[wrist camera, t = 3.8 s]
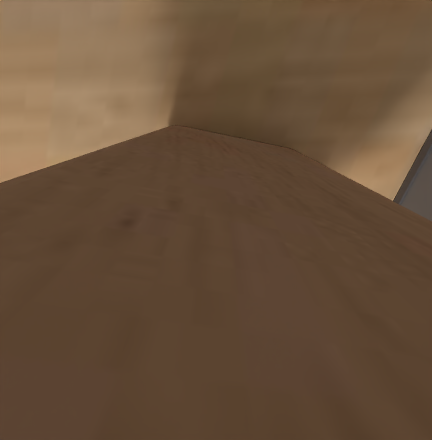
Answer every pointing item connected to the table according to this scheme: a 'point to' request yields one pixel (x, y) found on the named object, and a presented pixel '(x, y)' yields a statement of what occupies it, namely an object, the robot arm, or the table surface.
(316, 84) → the table surface
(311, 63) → the table surface
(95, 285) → the wooden block
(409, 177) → the charcoal base block
